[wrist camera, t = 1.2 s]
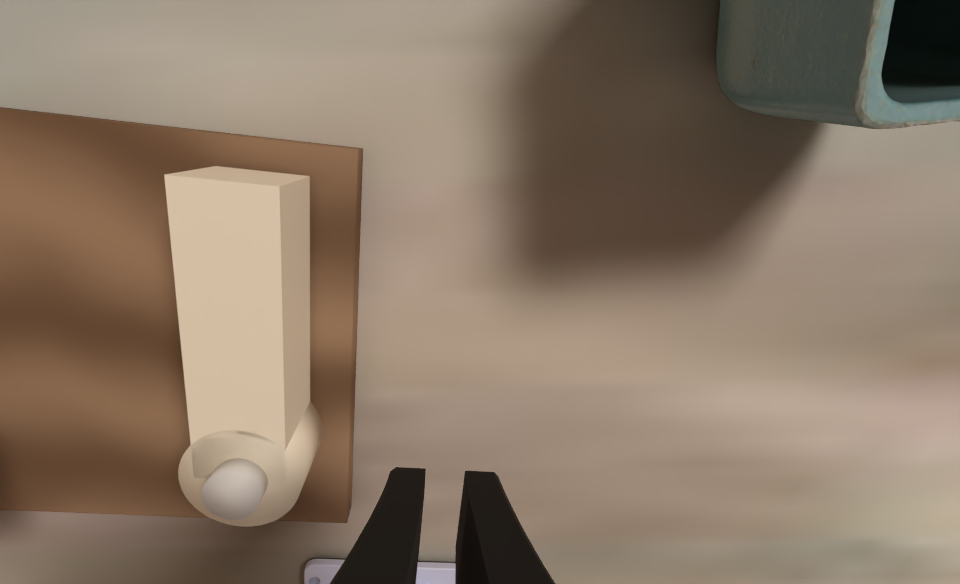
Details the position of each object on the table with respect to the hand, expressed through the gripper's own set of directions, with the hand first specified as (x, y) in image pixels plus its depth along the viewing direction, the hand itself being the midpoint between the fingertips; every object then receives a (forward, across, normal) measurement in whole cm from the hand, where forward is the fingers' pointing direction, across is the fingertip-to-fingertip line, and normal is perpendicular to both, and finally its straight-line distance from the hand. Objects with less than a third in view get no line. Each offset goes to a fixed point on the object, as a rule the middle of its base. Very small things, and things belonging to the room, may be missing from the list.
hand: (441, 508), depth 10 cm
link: (+9, +6, 0) cm, 11 cm away
